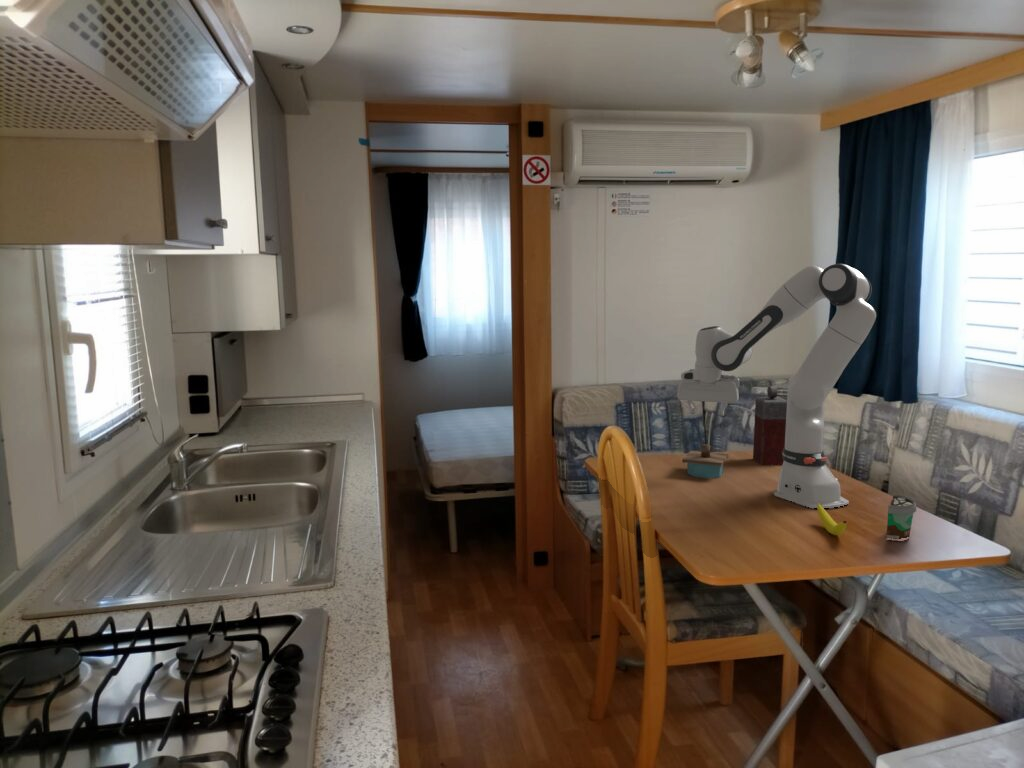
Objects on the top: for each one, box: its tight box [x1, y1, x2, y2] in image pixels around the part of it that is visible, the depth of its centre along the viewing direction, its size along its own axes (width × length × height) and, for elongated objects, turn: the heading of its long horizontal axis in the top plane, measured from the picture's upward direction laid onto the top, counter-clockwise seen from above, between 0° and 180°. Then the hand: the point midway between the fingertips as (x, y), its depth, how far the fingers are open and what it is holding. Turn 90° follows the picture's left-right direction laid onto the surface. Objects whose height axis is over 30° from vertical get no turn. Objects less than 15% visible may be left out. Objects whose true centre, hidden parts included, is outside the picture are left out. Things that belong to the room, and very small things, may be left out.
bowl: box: [686, 463, 724, 479], centre depth 259 cm, size 11×11×5 cm
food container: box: [885, 493, 917, 539], centre depth 199 cm, size 12×6×10 cm, turn 148°
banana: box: [817, 503, 847, 536], centre depth 203 cm, size 3×19×6 cm, turn 178°
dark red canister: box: [752, 385, 787, 466], centre depth 272 cm, size 9×11×28 cm
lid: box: [682, 443, 729, 466], centre depth 259 cm, size 13×13×5 cm
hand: (707, 414), depth 257 cm, fingers open, 8 cm apart
